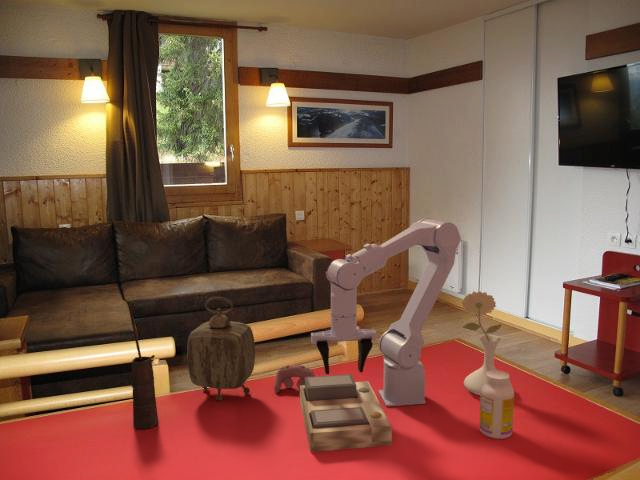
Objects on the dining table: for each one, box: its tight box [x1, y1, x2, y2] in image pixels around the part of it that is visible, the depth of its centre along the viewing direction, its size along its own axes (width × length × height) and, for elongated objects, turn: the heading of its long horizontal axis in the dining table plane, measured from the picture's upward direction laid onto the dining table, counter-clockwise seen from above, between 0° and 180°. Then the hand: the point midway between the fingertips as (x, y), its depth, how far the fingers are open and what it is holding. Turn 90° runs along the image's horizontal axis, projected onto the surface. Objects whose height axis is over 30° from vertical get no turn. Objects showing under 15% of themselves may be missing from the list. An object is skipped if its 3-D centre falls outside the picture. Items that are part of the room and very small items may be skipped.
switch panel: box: [299, 380, 393, 453], centre depth 119 cm, size 16×22×4 cm
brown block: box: [311, 407, 368, 429], centre depth 113 cm, size 11×6×4 cm, turn 98°
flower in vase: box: [461, 291, 513, 397], centre depth 132 cm, size 13×11×25 cm
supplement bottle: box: [479, 369, 515, 440], centre depth 114 cm, size 7×7×13 cm
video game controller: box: [274, 364, 315, 394], centre depth 136 cm, size 10×5×7 cm, turn 85°
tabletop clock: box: [186, 296, 256, 402], centre depth 130 cm, size 14×9×25 cm, turn 78°
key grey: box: [305, 373, 356, 401], centre depth 125 cm, size 11×6×4 cm, turn 98°
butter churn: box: [127, 300, 159, 430], centre depth 118 cm, size 9×10×28 cm
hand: (343, 371), depth 123 cm, fingers open, 7 cm apart
